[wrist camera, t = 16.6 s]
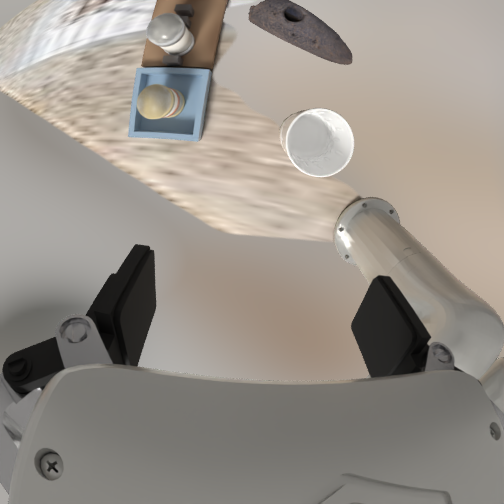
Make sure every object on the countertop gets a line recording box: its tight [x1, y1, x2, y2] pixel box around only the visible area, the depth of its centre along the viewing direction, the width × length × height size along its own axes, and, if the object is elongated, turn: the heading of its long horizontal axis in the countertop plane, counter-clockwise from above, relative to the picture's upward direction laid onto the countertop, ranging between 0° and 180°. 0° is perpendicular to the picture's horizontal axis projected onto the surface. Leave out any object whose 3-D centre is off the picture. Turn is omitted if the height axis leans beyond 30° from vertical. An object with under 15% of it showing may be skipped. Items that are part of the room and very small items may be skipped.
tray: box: [128, 68, 212, 142], centre depth 31 cm, size 10×10×3 cm
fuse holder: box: [141, 0, 228, 70], centre depth 24 cm, size 10×15×4 cm, turn 170°
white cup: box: [279, 108, 354, 177], centre depth 31 cm, size 8×8×10 cm
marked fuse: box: [137, 84, 185, 119], centre depth 28 cm, size 4×4×8 cm
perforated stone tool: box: [249, 0, 352, 65], centre depth 25 cm, size 15×5×7 cm, turn 59°
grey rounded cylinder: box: [146, 13, 195, 57], centre depth 23 cm, size 4×4×8 cm
